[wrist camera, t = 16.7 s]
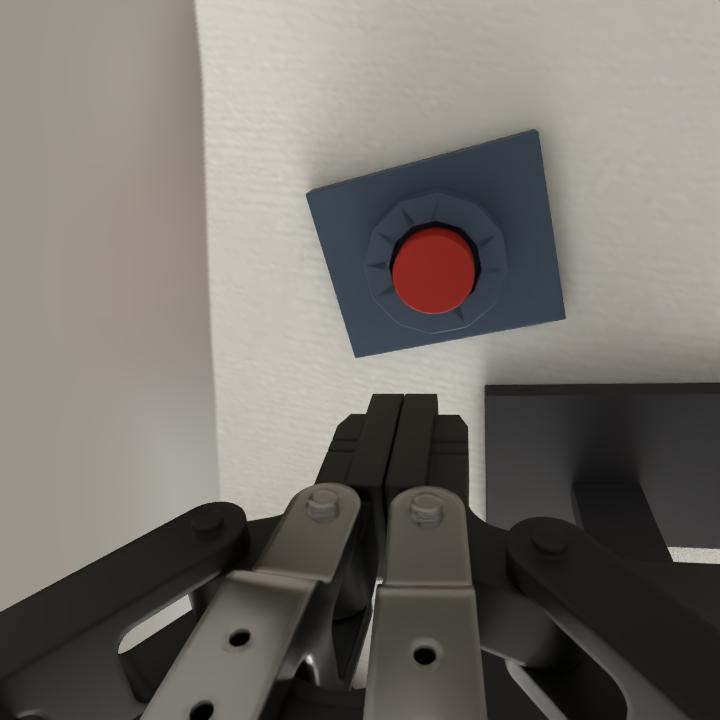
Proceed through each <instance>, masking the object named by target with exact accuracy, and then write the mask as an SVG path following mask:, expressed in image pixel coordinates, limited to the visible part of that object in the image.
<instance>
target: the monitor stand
mask: <svg viewBox="0 0 720 720" xmlns="http://www.w3.org/2000/svg"><path fill="white" fill-rule="evenodd" d="M485 465H486V523H488V524H490V525H492V526H495V527H498V528H501V529H505V530H508V531H509V530H510V529H511V528H512V527H513V526H514V525H515V524H516V523H518V522H520V521H522V520H525V519H528V518H532V517H553V518H557V519H562V520H564V521H567V522H570V523H572V524H574V525H575V526H577V527H579V528H580V529H582V530H583V531H584V532H586V533H587V534H588V535H590V536H591V537H593V538H594V539H595V540H597V541H598V542H599V543H601V544H602V545H603V546H605V547H606V548H608V549H609V550H610V551H612V552H613V553H614V554H616V555H617V556H619V557H620V558H621V559H623V560H641V561H663V562H673V560H672V557H671V555H670V553H669V550H668V548H667V547H686V548H710V549H720V383H664V384H561V385H485Z"/></svg>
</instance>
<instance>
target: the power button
mask: <svg viewBox="0 0 720 720" xmlns="http://www.w3.org/2000/svg"><path fill="white" fill-rule="evenodd" d="M393 283H394V286H395V289H396V291H397V293H398V295H399V296H400V298H401V299H402V300H403V301H404V302H405V303H406V304H407V305H408V306H410V307H411V308H413V309H415V310H417V311H420V312H423V313H428V314H439V313H444V312H447V311H450V310H452V309H454V308H456V307H457V306H459V305H460V304H461V303H462V302H463V301H464V300H465V299H466V298H467V296H468V295H469V293H470V291H471V289H472V286H473V283H474V257H473V253H472V251H471V248H470V247H469V245H468V243H467V242H466V241H465V240H464V239H463V238H462V237H461V236H460V235H459V234H457V233H456V232H454V231H452V230H449V229H446V228H441V227H430V228H425V229H422V230H420V231H417V232H416V233H414V234H412V235H411V236H410V237H409V238H408V239H407V240H406V241H405V242H404V244H403V245H402V247H401V248H400V250H399V253H398V255H397V257H396V260H395V263H394V266H393Z"/></svg>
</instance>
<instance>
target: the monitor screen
mask: <svg viewBox="0 0 720 720" xmlns="http://www.w3.org/2000/svg"><path fill="white" fill-rule="evenodd" d="M624 561H625V562H627V563H628V564H629V565H631V566H632V567H634V568H635V569H636V570H638V571H639V572H640V573H642V574H643V575H644V576H646V577H647V578H649V579H650V580H651V581H653V582H654V583H655V584H657V585H658V586H660V587H661V588H662V589H664V590H665V591H666V592H668V593H669V594H670V595H672V596H673V597H675V598H676V599H677V600H679V601H680V602H681V603H683V604H684V605H686V606H687V607H688V608H690V609H691V610H692V611H694V612H695V613H696V614H698V615H699V616H701V617H702V618H703V619H705V620H706V621H707V622H709V623H710V624H712V625H713V626H714V627H716V628H717V629H718V630H720V564H706V563H684V562H663V561H641V560H624ZM481 658H482V668H483V679H484V689H485V699H486V710H487V719H489V720H549V719H548V718H547V717H546V716H545V714H544V713H543V712H542V711H541V710H540V709H539V708H538V706H537V705H536V704H535V703H534V702H533V701H532V699H531V698H530V697H529V696H528V695H527V694H526V693H525V691H524V690H523V689H522V688H521V687H520V686H519V685H518V683H517V682H516V681H515V680H514V679H513V677H512V676H511V675H510V673H509V671H508V669H507V667H506V664H505V659H504V658H502V657H499V656H497V655H494V654H492V653H489V652H487V651H484V650H482V649H481Z"/></svg>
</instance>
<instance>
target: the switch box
mask: <svg viewBox="0 0 720 720" xmlns="http://www.w3.org/2000/svg"><path fill="white" fill-rule="evenodd" d="M306 197H307V201H308V204H309V207H310V211H311V214H312V217H313V220H314V224H315V227H316V230H317V234H318V237H319V240H320V243H321V247H322V250H323V253H324V257H325V260H326V263H327V266H328V270H329V273H330V276H331V280H332V283H333V286H334V289H335V293H336V296H337V299H338V303H339V306H340V309H341V312H342V316H343V319H344V322H345V326H346V329H347V332H348V335H349V339H350V342H351V345H352V349H353V352H354V355H355V358H359V357H365V356H370V355H375V354H381V353H386V352H392V351H397V350H402V349H408V348H413V347H418V346H424V345H429V344H435V343H440V342H445V341H451V340H456V339H461V338H467V337H472V336H477V335H483V334H488V333H494V332H499V331H504V330H510V329H515V328H520V327H526V326H531V325H536V324H542V323H547V322H553V321H558V320H563V319H565V318H566V316H565V309H564V302H563V296H562V289H561V282H560V275H559V269H558V262H557V255H556V248H555V242H554V235H553V228H552V221H551V214H550V208H549V201H548V194H547V187H546V181H545V174H544V167H543V160H542V154H541V147H540V140H539V133H538V131H537V130H535V129H533V130H529V131H525V132H522V133H518V134H515V135H511V136H507V137H504V138H500V139H496V140H493V141H489V142H485V143H482V144H478V145H474V146H471V147H467V148H463V149H460V150H456V151H452V152H449V153H445V154H441V155H438V156H434V157H430V158H427V159H423V160H419V161H416V162H412V163H408V164H405V165H401V166H398V167H394V168H390V169H387V170H383V171H379V172H376V173H372V174H368V175H365V176H361V177H357V178H354V179H350V180H346V181H343V182H339V183H335V184H332V185H328V186H324V187H321V188H317V189H313V190H311V191H310V192H308V193H307V194H306ZM430 227H441V228H446V229H449V230H452V231H454V232H456V233H457V234H459V235H460V236H461V237H462V238H463V239H464V240H465V241H466V242H467V243H468V245H469V247H470V248H471V251H472V253H473V257H474V283H473V286H472V289H471V291H470V293H469V295H468V296H467V298H466V299H465V300H464V301H463V302H462V303H461V304H460V305H459V306H457V307H456V308H454V309H452V310H450V311H447V312H444V313H439V314H428V313H423V312H420V311H417V310H415V309H413V308H411V307H410V306H408V305H407V304H406V303H405V302H404V301H403V300H402V299H401V298H400V296H399V295H398V293H397V291H396V289H395V286H394V283H393V266H394V263H395V260H396V257H397V255H398V253H399V250H400V248H401V247H402V245H403V244H404V242H405V241H406V240H407V239H408V238H409V237H410V236H411V235H412V234H414V233H416V232H417V231H420V230H422V229H425V228H430Z"/></svg>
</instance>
